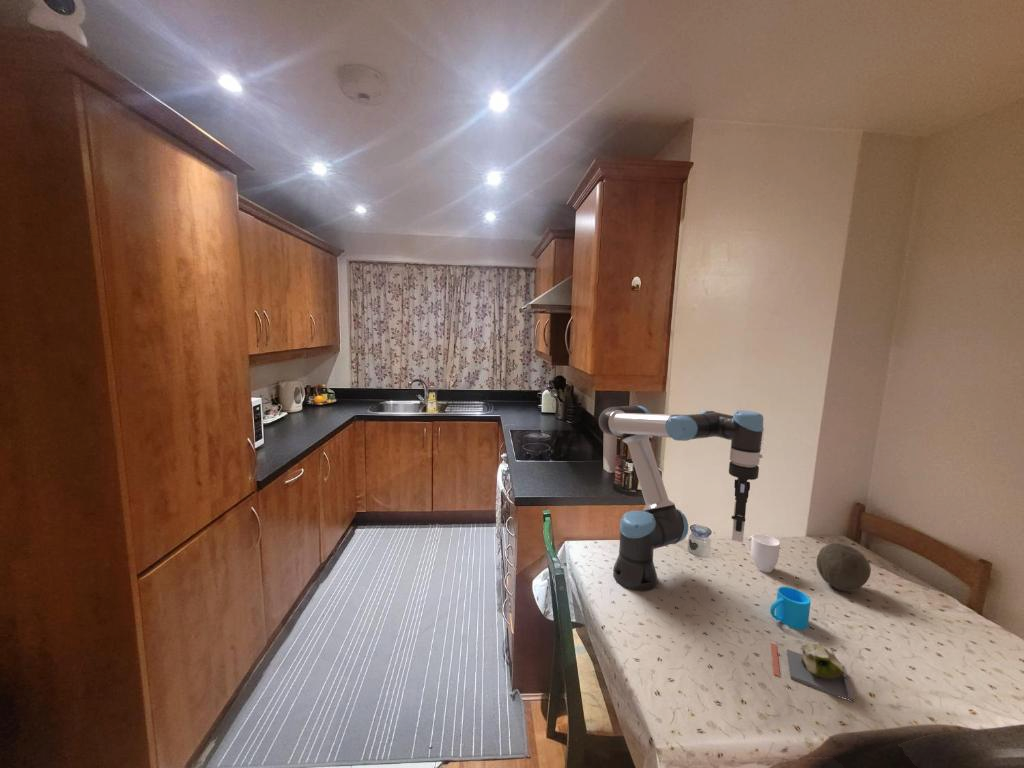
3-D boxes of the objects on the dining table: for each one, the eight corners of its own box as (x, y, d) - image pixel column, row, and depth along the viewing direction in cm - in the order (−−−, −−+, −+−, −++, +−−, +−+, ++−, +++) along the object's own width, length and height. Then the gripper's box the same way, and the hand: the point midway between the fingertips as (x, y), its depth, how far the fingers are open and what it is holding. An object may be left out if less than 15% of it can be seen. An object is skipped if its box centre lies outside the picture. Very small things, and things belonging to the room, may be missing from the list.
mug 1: (783, 572, 141) (785, 542, 139) (766, 578, 138) (768, 547, 136) (753, 556, 152) (755, 528, 150) (737, 560, 149) (739, 532, 147)
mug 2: (790, 609, 121) (792, 585, 120) (814, 627, 113) (817, 602, 112) (758, 613, 119) (760, 589, 118) (781, 633, 111) (784, 607, 110)
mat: (790, 678, 95) (791, 672, 95) (786, 651, 104) (787, 645, 104) (853, 702, 89) (854, 695, 89) (843, 672, 98) (844, 665, 97)
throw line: (773, 674, 96) (773, 673, 96) (771, 643, 107) (771, 642, 107) (779, 677, 96) (779, 675, 96) (776, 645, 106) (776, 644, 106)
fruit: (837, 697, 90) (828, 667, 90) (795, 673, 99) (787, 645, 98) (856, 674, 94) (848, 645, 93) (813, 653, 102) (806, 626, 102)
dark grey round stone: (864, 606, 123) (869, 563, 122) (810, 585, 134) (814, 545, 132) (870, 588, 132) (874, 548, 131) (819, 570, 143) (823, 532, 141)
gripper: (760, 478, 99) (753, 553, 101) (757, 455, 120) (751, 518, 123) (728, 472, 103) (721, 545, 105) (730, 451, 124) (725, 512, 127)
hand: (737, 530), depth 114 cm, fingers open, 13 cm apart
